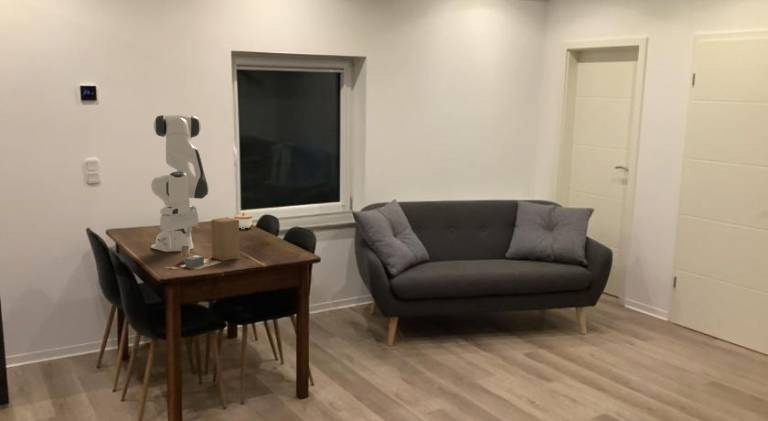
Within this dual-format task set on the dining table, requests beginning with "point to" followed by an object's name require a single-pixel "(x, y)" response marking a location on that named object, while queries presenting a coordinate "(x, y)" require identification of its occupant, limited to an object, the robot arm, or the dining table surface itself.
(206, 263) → the plywood panel
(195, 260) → the grey rectangular block
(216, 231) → the wooden block
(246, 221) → the lidded jar
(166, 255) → the dining table surface
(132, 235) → the dining table surface
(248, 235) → the dining table surface
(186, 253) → the peg
